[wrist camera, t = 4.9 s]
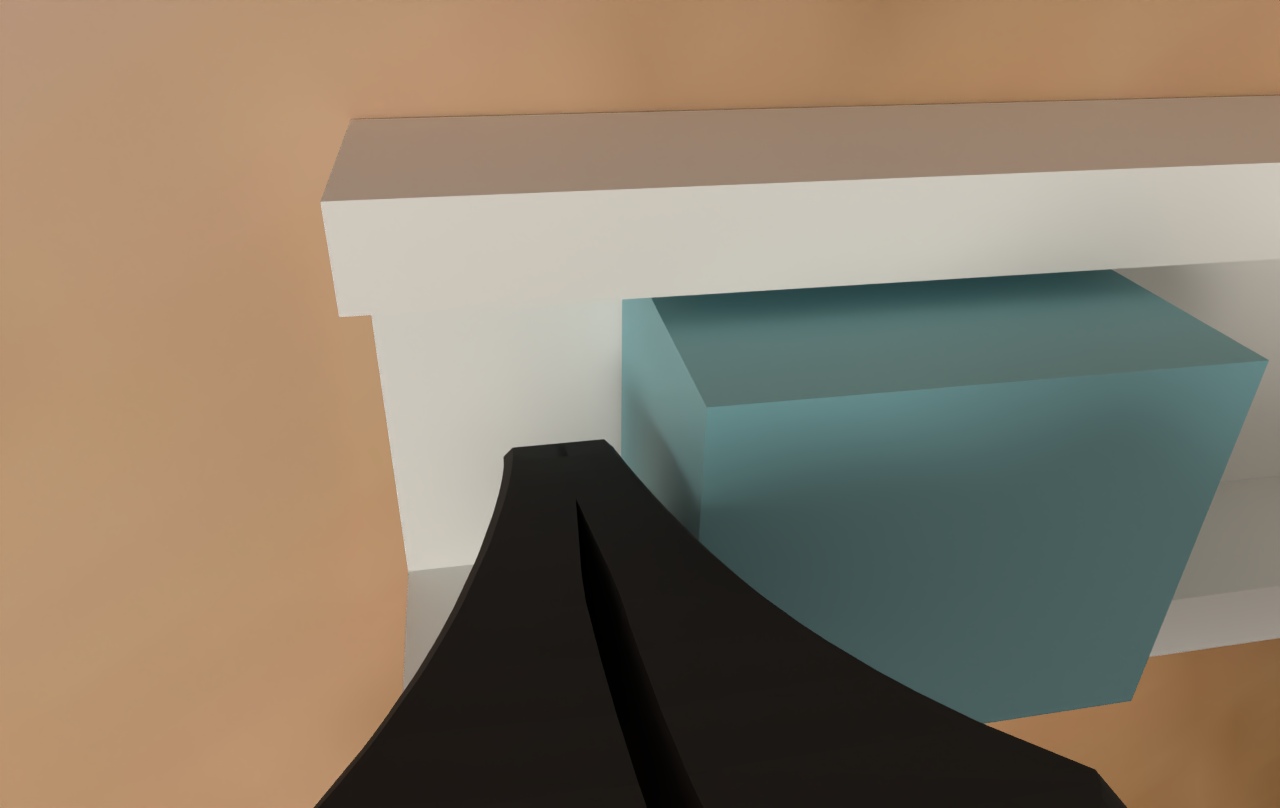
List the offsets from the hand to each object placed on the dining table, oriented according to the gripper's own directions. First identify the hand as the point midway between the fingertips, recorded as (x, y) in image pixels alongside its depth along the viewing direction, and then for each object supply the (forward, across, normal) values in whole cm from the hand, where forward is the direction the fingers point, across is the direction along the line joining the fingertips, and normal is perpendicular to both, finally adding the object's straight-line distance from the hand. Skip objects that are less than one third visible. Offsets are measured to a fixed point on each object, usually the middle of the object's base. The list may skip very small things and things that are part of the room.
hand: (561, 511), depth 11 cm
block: (+3, -4, 0) cm, 5 cm away
